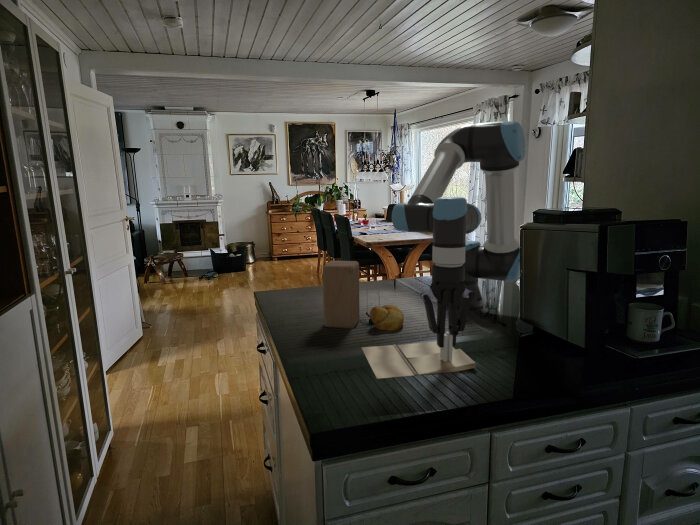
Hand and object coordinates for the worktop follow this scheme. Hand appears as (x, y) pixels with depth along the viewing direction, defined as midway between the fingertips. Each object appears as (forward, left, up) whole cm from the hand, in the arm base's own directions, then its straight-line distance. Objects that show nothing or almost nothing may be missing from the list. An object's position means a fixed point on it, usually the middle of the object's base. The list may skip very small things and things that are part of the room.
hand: (445, 359), depth 105 cm
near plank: (+1, 0, -2) cm, 2 cm away
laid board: (+13, -5, -3) cm, 15 cm away
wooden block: (+20, -39, -3) cm, 44 cm away
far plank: (+1, -10, -2) cm, 10 cm away
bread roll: (+6, -32, -3) cm, 33 cm away
